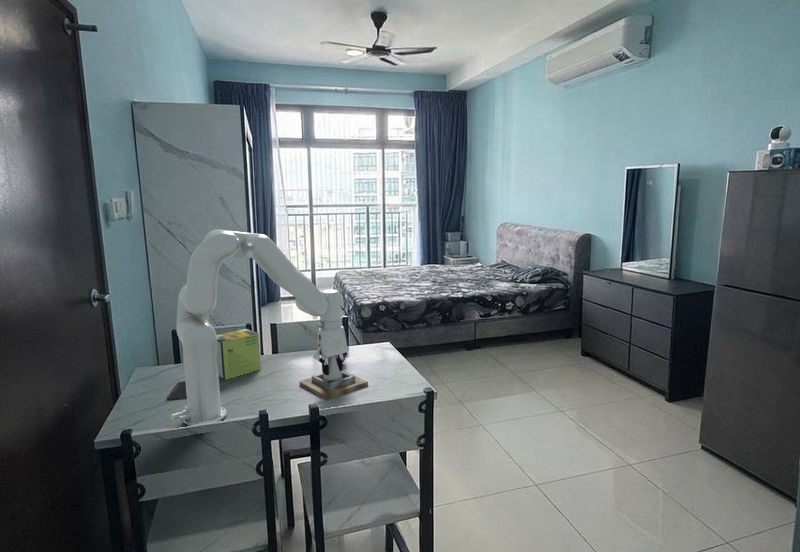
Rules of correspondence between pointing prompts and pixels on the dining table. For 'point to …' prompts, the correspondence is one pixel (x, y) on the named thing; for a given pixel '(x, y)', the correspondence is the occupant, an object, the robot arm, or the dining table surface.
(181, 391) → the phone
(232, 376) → the protein box
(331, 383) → the holder
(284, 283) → the robot arm
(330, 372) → the flask
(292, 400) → the dining table surface
